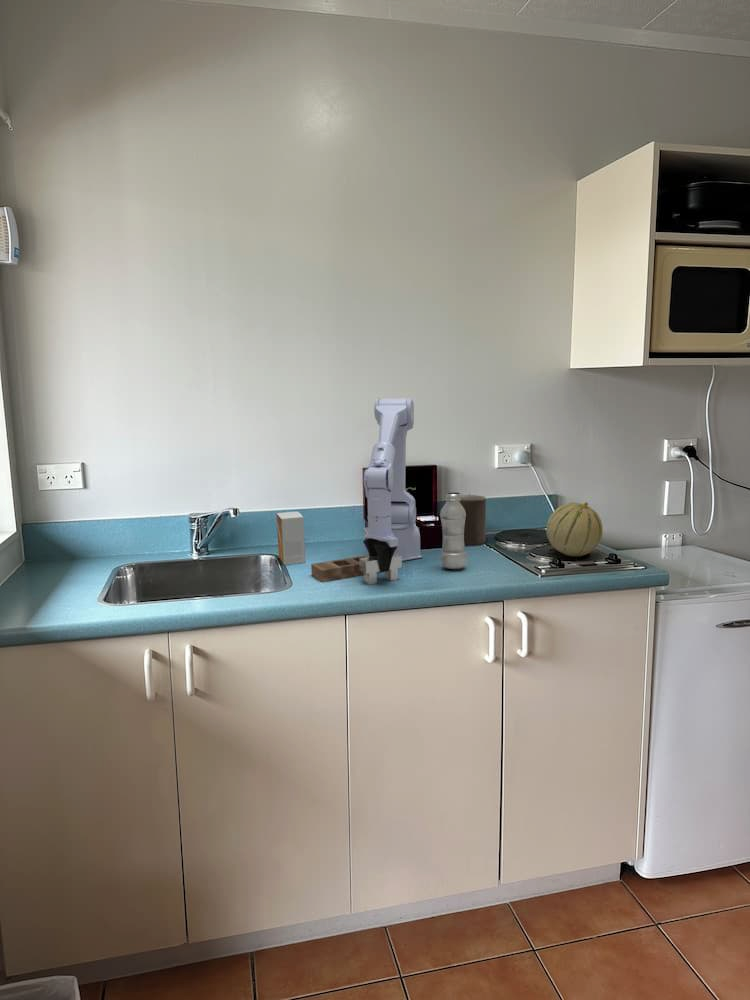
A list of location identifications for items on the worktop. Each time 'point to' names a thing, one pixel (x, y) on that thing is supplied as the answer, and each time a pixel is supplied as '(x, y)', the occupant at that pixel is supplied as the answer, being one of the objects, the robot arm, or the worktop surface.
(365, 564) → the pale wooden bridge block
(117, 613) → the worktop surface
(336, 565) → the walnut rail
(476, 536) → the pillar candle
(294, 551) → the small box
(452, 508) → the plastic bottle
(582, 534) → the cantaloupe
